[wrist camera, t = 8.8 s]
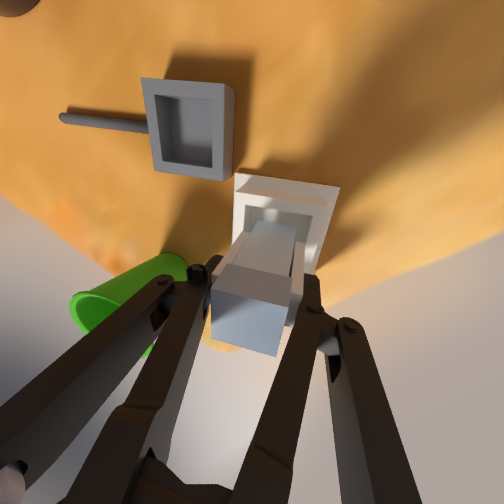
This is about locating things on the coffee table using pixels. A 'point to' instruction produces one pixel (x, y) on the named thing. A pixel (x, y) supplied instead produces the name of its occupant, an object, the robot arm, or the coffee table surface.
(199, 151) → the grey square socket
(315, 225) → the tray
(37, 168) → the coffee table surface
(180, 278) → the cup
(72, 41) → the coffee table surface
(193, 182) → the coffee table surface
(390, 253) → the coffee table surface
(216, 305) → the plug
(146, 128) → the cord
